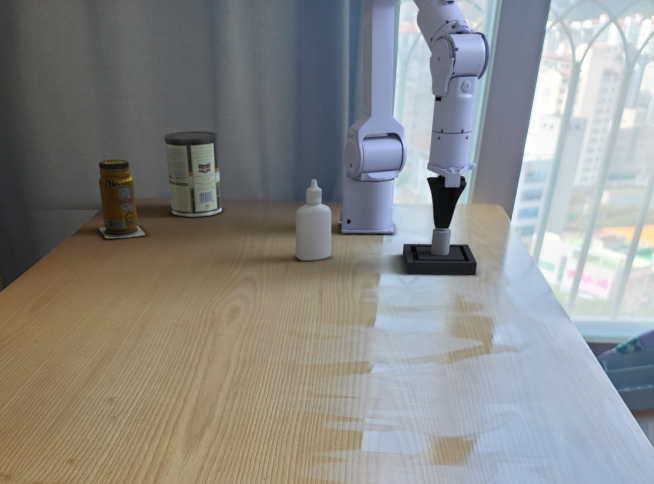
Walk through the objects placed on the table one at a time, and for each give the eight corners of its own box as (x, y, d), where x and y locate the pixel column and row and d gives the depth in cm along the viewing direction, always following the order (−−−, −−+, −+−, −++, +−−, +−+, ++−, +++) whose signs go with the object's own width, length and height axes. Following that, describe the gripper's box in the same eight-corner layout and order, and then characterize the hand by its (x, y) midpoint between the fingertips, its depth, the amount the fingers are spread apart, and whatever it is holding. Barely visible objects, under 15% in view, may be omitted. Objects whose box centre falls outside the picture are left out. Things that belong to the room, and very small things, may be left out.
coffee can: (192, 203, 157) (186, 129, 150) (231, 209, 153) (228, 133, 145) (160, 213, 150) (153, 136, 142) (201, 219, 146) (195, 140, 138)
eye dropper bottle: (297, 253, 125) (297, 176, 119) (331, 254, 125) (333, 177, 118) (294, 261, 122) (294, 182, 115) (328, 262, 121) (330, 182, 114)
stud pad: (418, 266, 116) (421, 235, 114) (415, 254, 122) (417, 224, 119) (464, 267, 116) (467, 236, 113) (458, 254, 122) (462, 224, 119)
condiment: (137, 225, 143) (129, 157, 136) (146, 236, 136) (138, 164, 129) (98, 229, 141) (88, 159, 134) (105, 240, 134) (96, 168, 127)
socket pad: (406, 273, 115) (407, 262, 114) (402, 254, 124) (403, 243, 123) (475, 274, 115) (477, 263, 114) (466, 255, 123) (468, 244, 122)
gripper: (487, 138, 102) (474, 240, 110) (472, 123, 114) (461, 216, 122) (435, 138, 103) (425, 239, 110) (426, 124, 115) (418, 216, 122)
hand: (441, 227), depth 116 cm, fingers closed
